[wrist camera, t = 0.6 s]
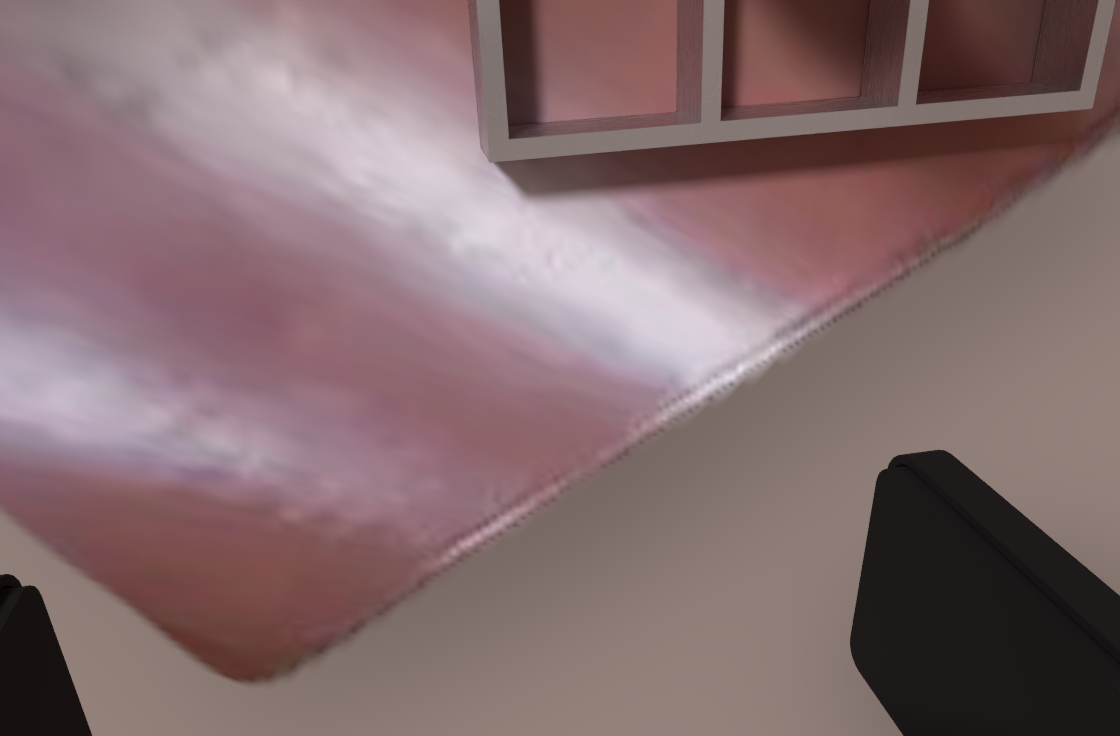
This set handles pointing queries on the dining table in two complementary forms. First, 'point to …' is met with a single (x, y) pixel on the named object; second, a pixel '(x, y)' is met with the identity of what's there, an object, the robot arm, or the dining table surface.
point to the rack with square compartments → (885, 101)
